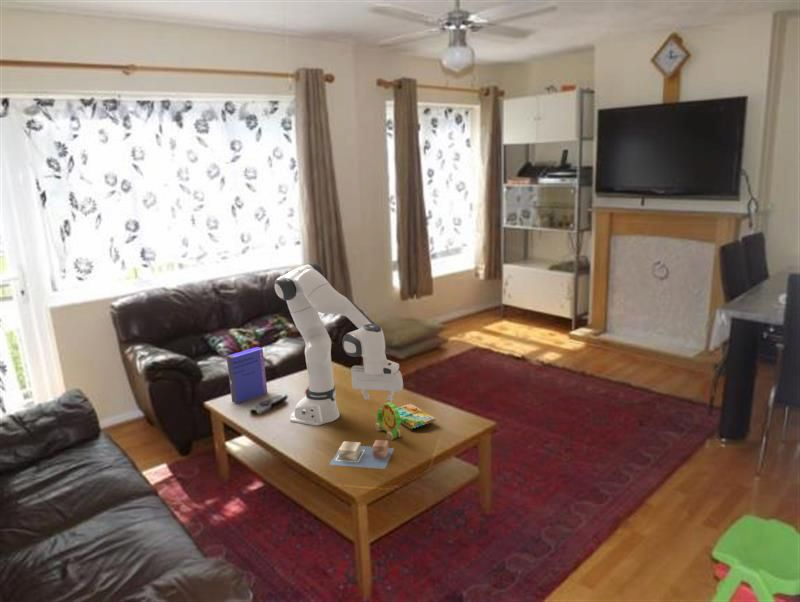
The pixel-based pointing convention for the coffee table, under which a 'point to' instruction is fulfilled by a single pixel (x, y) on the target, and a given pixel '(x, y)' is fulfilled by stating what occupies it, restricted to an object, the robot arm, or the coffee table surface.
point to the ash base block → (349, 450)
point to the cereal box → (247, 374)
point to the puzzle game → (413, 416)
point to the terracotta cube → (380, 449)
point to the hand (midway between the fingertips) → (378, 399)
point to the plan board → (364, 459)
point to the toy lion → (388, 420)
